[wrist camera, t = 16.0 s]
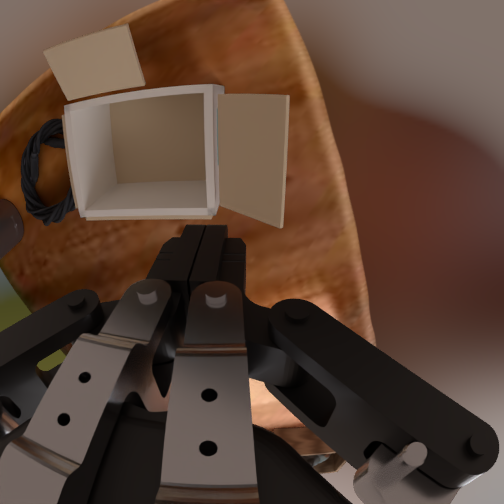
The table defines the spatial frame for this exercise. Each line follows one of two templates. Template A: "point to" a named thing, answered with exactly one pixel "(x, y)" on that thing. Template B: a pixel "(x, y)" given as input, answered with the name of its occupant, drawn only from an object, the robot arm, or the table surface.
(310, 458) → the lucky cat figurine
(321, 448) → the display tray
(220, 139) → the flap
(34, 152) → the cable
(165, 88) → the carton
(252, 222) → the table surface
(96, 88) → the side flap
